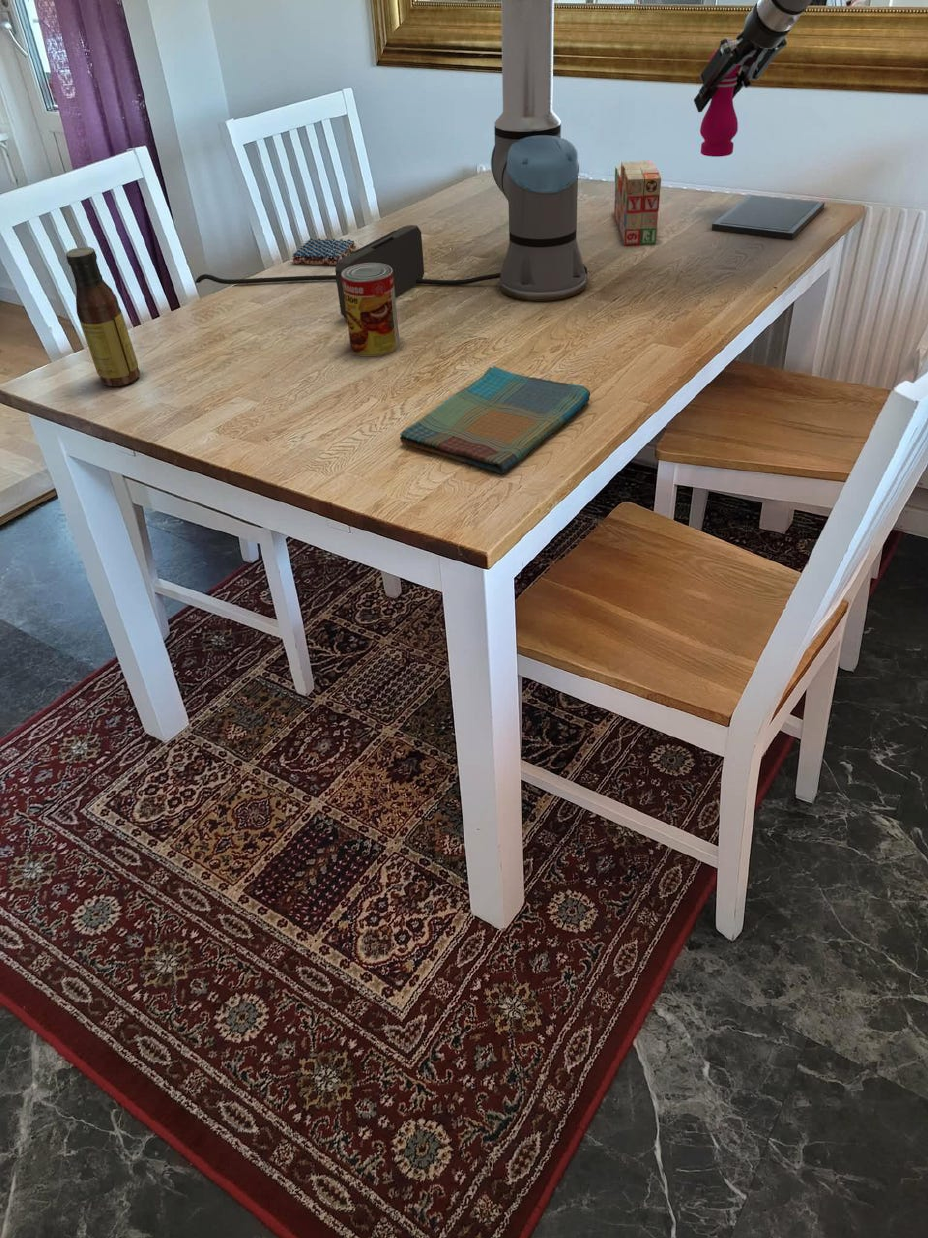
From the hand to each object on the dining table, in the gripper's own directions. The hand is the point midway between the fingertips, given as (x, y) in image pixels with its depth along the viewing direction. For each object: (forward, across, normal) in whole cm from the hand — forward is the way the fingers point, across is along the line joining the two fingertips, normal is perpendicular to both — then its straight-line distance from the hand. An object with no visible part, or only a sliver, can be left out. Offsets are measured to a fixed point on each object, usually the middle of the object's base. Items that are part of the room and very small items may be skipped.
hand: (709, 103), depth 192 cm
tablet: (+5, +8, -23) cm, 25 cm away
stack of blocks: (+12, -18, -17) cm, 27 cm away
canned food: (-10, -84, -38) cm, 93 cm away
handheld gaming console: (+4, -76, -25) cm, 80 cm away
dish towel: (-33, -78, -62) cm, 105 cm away
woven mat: (+24, -78, -5) cm, 82 cm away
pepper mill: (+3, 0, -9) cm, 9 cm away
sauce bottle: (-4, -123, -32) cm, 128 cm away
